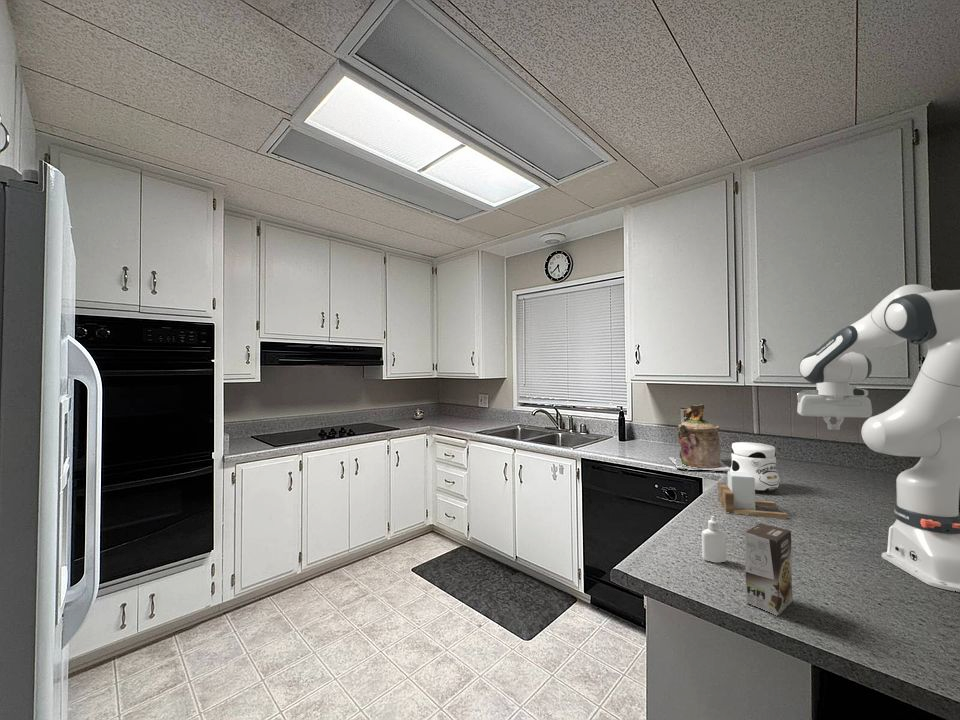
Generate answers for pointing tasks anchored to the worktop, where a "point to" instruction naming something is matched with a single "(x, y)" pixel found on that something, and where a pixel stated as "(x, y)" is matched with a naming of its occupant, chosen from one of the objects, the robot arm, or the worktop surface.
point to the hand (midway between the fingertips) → (833, 429)
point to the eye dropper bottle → (713, 542)
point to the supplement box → (742, 489)
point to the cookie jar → (699, 442)
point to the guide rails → (761, 513)
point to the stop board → (725, 497)
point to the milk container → (756, 464)
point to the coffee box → (768, 568)
